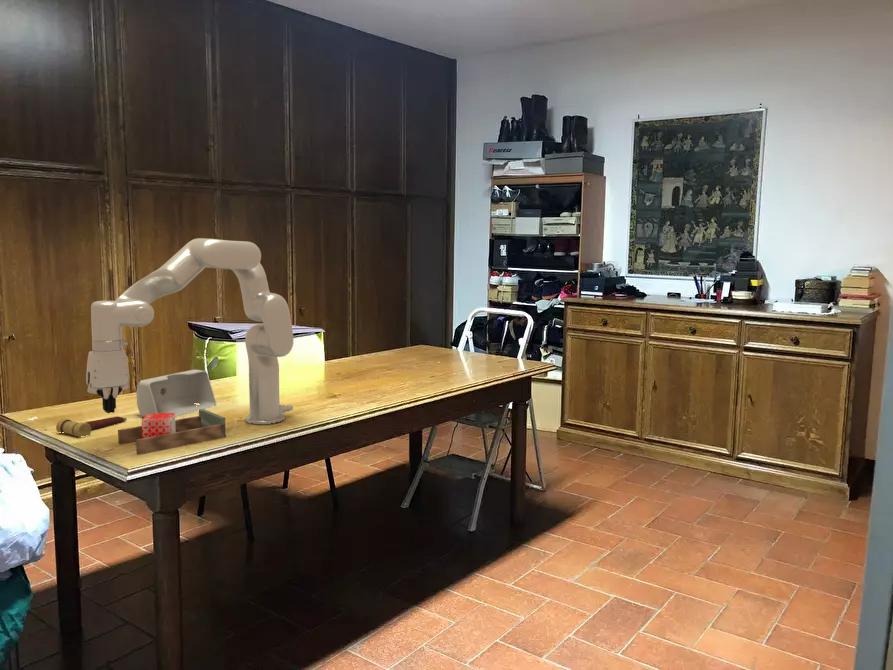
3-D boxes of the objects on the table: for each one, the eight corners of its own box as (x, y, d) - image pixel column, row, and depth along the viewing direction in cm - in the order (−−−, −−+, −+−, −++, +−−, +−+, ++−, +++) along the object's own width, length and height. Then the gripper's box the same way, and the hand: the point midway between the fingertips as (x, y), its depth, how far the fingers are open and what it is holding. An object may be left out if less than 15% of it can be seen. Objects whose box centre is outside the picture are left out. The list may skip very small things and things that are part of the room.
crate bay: (203, 427, 226) (202, 408, 226) (225, 437, 216) (225, 417, 215) (118, 443, 208) (117, 423, 208) (138, 454, 198) (137, 433, 197)
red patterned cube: (147, 439, 213) (146, 413, 211) (175, 438, 214) (174, 412, 213) (142, 447, 205) (141, 420, 204) (172, 446, 207) (171, 419, 205)
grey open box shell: (184, 400, 262) (183, 366, 260) (217, 406, 255) (216, 371, 253) (125, 415, 240) (124, 378, 238) (159, 421, 233) (157, 384, 231)
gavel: (115, 409, 235) (137, 413, 231) (115, 423, 236) (136, 427, 231) (55, 420, 216) (77, 424, 212) (55, 435, 217) (77, 439, 212)
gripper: (130, 342, 204) (131, 405, 206) (73, 346, 194) (75, 413, 196) (140, 345, 199) (142, 410, 201) (83, 350, 188) (85, 418, 191)
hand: (109, 411), depth 198 cm, fingers closed
